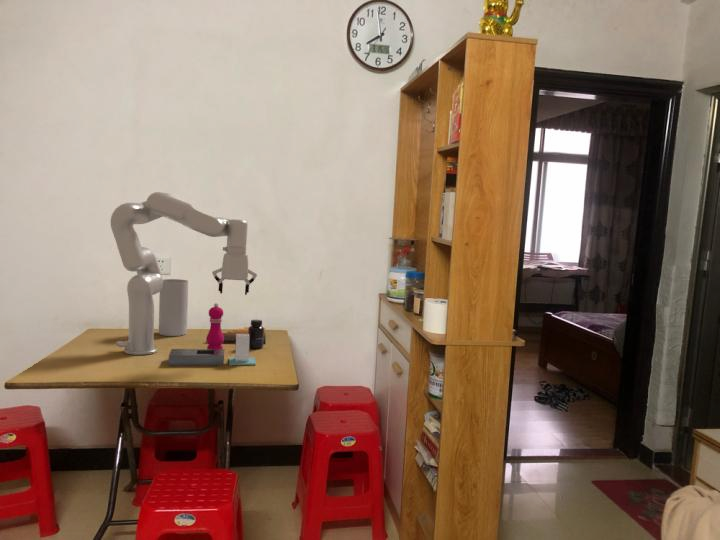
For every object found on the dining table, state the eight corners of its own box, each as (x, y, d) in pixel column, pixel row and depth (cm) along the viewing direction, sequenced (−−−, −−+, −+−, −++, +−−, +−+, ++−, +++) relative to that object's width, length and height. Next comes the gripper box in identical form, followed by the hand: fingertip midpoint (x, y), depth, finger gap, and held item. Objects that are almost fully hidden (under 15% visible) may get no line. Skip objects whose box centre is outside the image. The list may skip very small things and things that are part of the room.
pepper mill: (227, 349, 246) (228, 303, 244) (216, 353, 239) (217, 305, 237) (213, 347, 249) (214, 301, 247) (202, 350, 242) (203, 303, 240)
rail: (168, 365, 216) (168, 355, 216) (171, 359, 226) (171, 349, 225) (223, 365, 220) (224, 355, 220) (224, 359, 230) (224, 349, 230)
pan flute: (208, 344, 256) (265, 345, 260) (208, 336, 256) (265, 337, 260) (212, 332, 280) (264, 333, 285) (212, 325, 280) (265, 326, 284)
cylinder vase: (181, 337, 264) (183, 283, 262) (154, 335, 264) (155, 281, 262) (190, 332, 277) (191, 280, 274) (164, 330, 277) (165, 278, 275)
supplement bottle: (259, 350, 248) (260, 322, 247) (244, 348, 250) (245, 321, 249) (265, 346, 255) (266, 319, 254) (251, 345, 256) (252, 318, 255)
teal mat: (229, 365, 221) (229, 363, 221) (229, 359, 231) (229, 357, 230) (255, 365, 223) (255, 363, 223) (254, 359, 233) (254, 357, 233)
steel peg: (235, 361, 224) (236, 336, 223) (235, 358, 229) (236, 333, 228) (248, 361, 225) (249, 336, 224) (248, 358, 230) (249, 333, 229)
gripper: (213, 250, 223) (210, 294, 225) (258, 253, 227) (255, 296, 228) (214, 248, 231) (211, 291, 232) (258, 251, 234) (255, 293, 235)
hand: (233, 293), depth 230 cm, fingers open, 9 cm apart
